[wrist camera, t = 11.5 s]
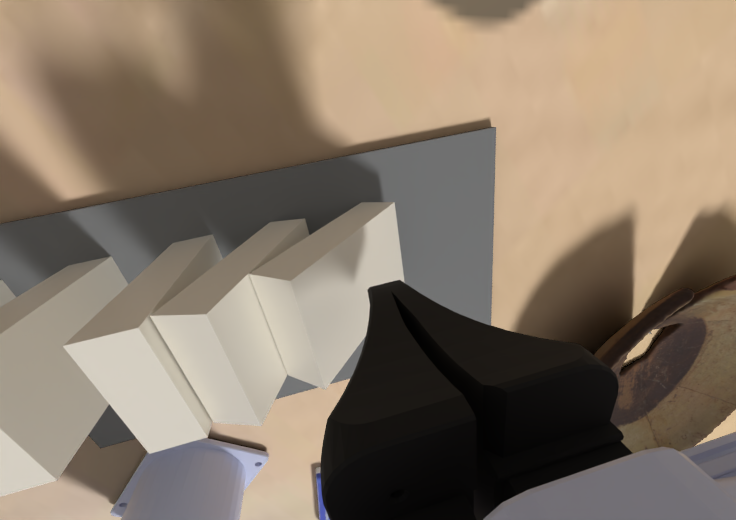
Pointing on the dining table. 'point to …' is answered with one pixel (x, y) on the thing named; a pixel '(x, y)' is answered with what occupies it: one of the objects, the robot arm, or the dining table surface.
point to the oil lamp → (676, 369)
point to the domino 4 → (328, 289)
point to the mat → (288, 202)
